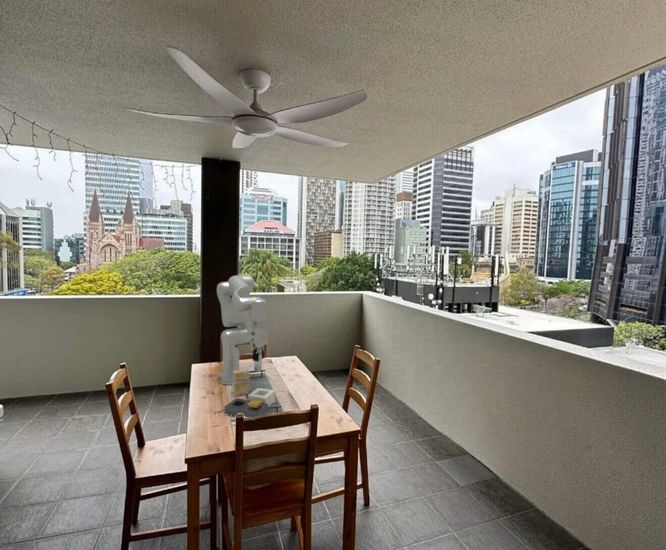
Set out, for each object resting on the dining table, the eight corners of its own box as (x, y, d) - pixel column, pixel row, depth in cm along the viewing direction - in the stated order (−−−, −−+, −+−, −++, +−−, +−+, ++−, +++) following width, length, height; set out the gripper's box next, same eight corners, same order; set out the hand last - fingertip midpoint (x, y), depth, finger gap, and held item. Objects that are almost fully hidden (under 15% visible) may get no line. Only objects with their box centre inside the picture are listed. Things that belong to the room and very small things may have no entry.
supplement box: (234, 397, 182) (234, 373, 181) (232, 393, 186) (232, 370, 185) (249, 394, 186) (250, 370, 185) (247, 390, 190) (247, 368, 189)
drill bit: (252, 370, 170) (253, 346, 169) (256, 367, 173) (257, 344, 172) (259, 371, 169) (259, 347, 168) (262, 368, 172) (263, 345, 171)
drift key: (247, 413, 161) (247, 403, 160) (253, 409, 165) (253, 399, 165) (256, 415, 159) (256, 405, 159) (262, 410, 164) (262, 400, 164)
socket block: (224, 414, 162) (224, 406, 161) (236, 405, 171) (236, 398, 171) (257, 421, 156) (257, 412, 156) (268, 411, 166) (268, 403, 166)
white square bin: (247, 406, 170) (247, 395, 170) (258, 398, 180) (258, 387, 180) (265, 410, 167) (265, 398, 167) (274, 401, 177) (275, 390, 177)
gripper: (256, 327, 160) (255, 365, 162) (273, 321, 176) (272, 355, 177) (242, 326, 163) (242, 363, 164) (260, 320, 178) (260, 354, 180)
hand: (258, 359), depth 171 cm, fingers closed on drill bit, 3 cm apart
